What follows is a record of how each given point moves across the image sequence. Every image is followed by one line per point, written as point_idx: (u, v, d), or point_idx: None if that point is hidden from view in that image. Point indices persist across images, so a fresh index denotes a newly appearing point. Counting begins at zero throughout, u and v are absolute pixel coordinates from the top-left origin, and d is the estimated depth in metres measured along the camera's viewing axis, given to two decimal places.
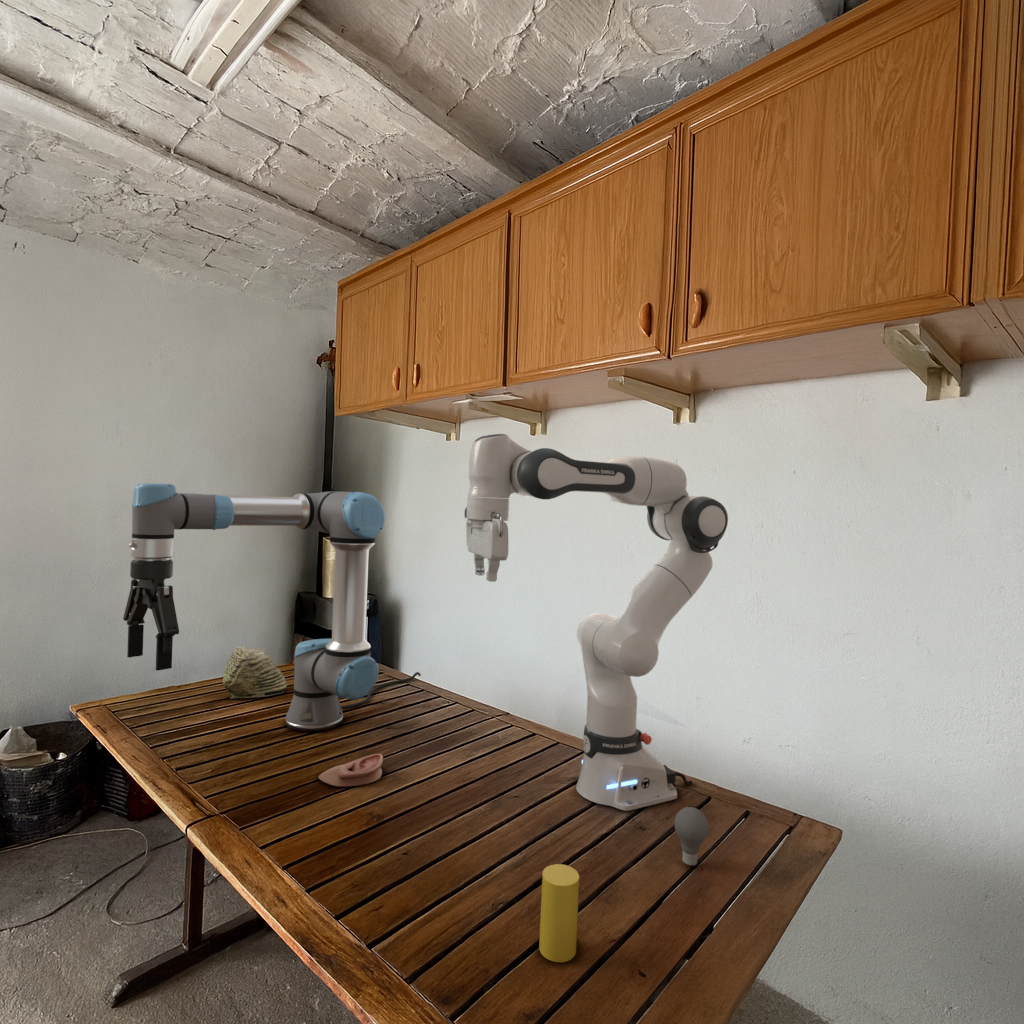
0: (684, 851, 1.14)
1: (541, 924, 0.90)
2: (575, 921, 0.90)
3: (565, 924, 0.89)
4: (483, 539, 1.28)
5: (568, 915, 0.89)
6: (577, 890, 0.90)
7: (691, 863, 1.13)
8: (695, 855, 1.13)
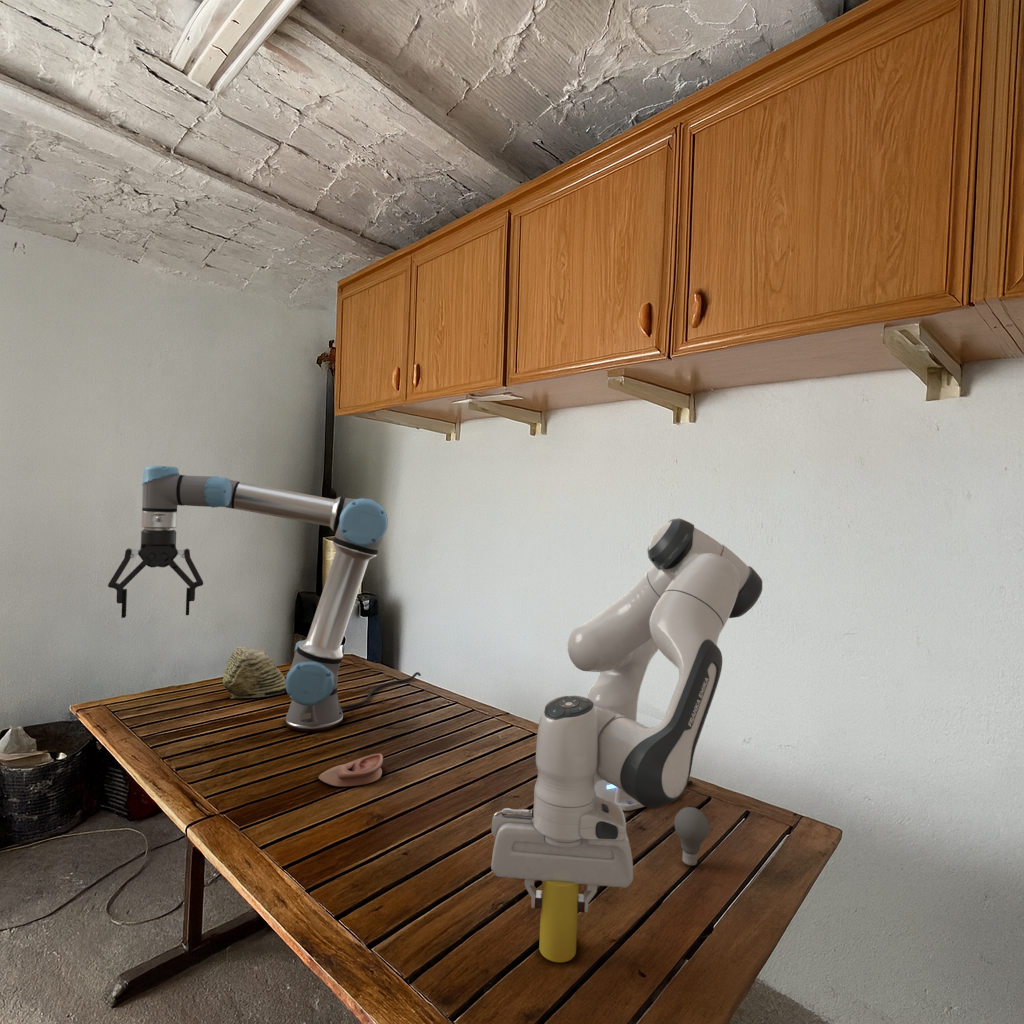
0: (684, 851, 1.14)
1: (541, 924, 0.90)
2: (575, 921, 0.90)
3: (565, 924, 0.89)
4: None
5: (568, 915, 0.89)
6: (577, 890, 0.90)
7: (691, 863, 1.13)
8: (695, 855, 1.13)
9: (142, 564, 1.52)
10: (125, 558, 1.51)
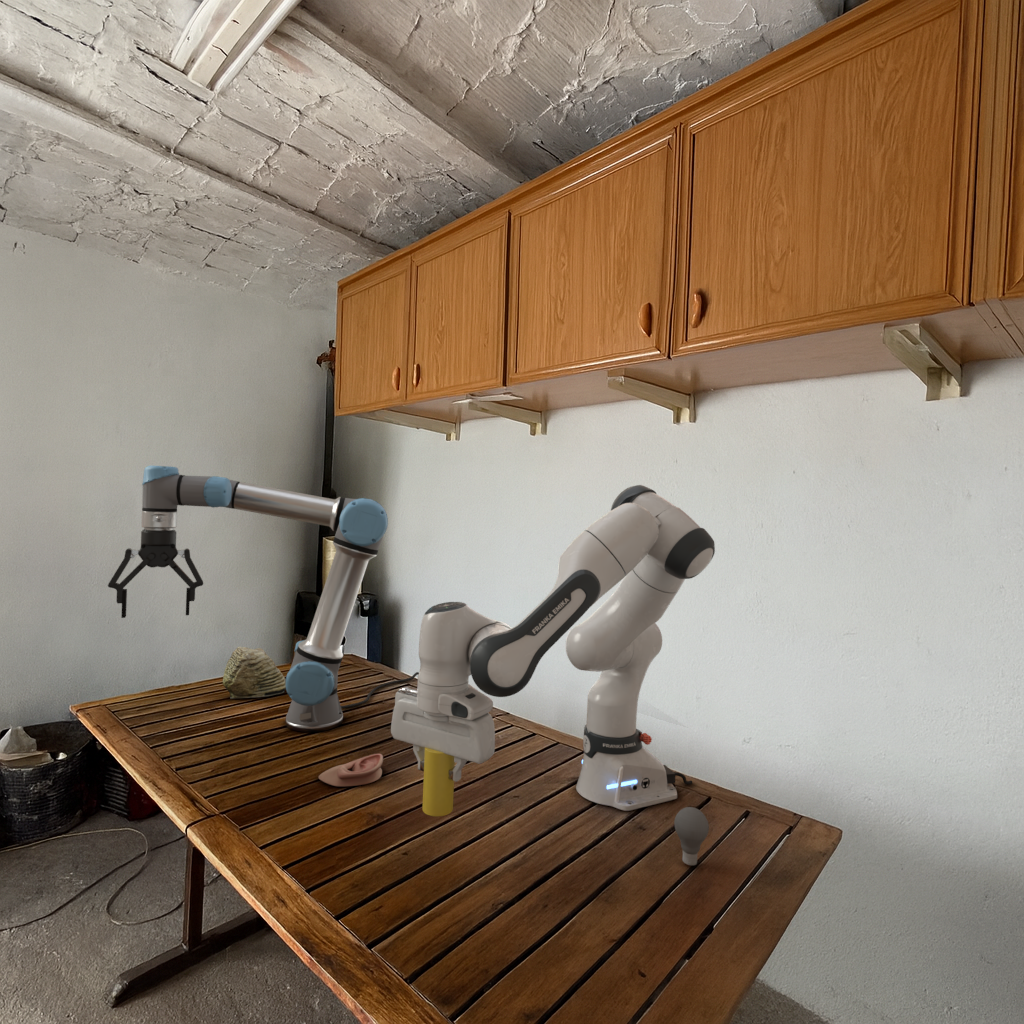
0: (684, 851, 1.14)
1: None
2: (445, 786, 1.08)
3: (434, 785, 1.08)
4: None
5: (436, 778, 1.08)
6: (447, 760, 1.08)
7: (691, 863, 1.13)
8: (695, 855, 1.13)
9: (142, 564, 1.52)
10: (125, 558, 1.51)
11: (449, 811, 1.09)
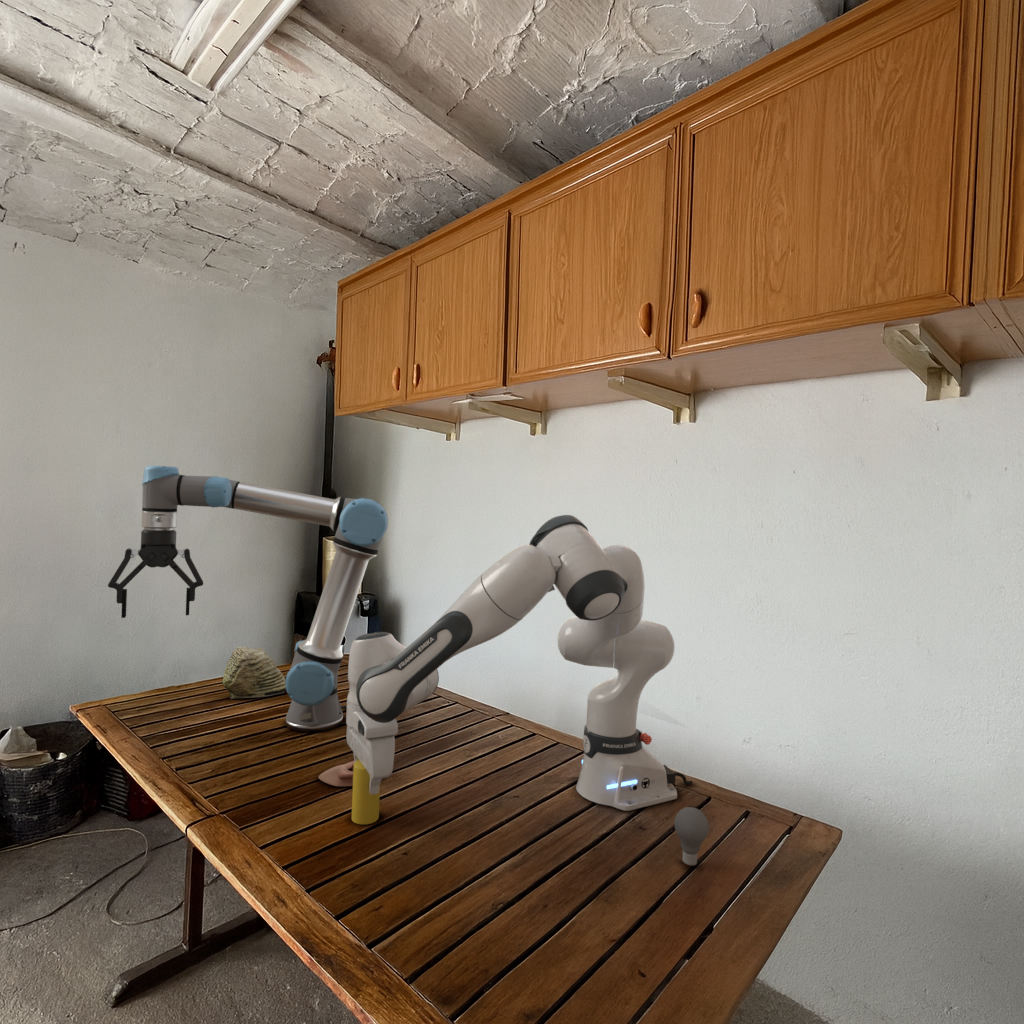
0: (684, 851, 1.14)
1: None
2: (363, 798, 1.23)
3: (355, 795, 1.24)
4: None
5: (356, 789, 1.24)
6: (365, 776, 1.23)
7: (691, 863, 1.13)
8: (695, 855, 1.13)
9: (142, 564, 1.52)
10: (125, 558, 1.51)
11: (368, 822, 1.24)
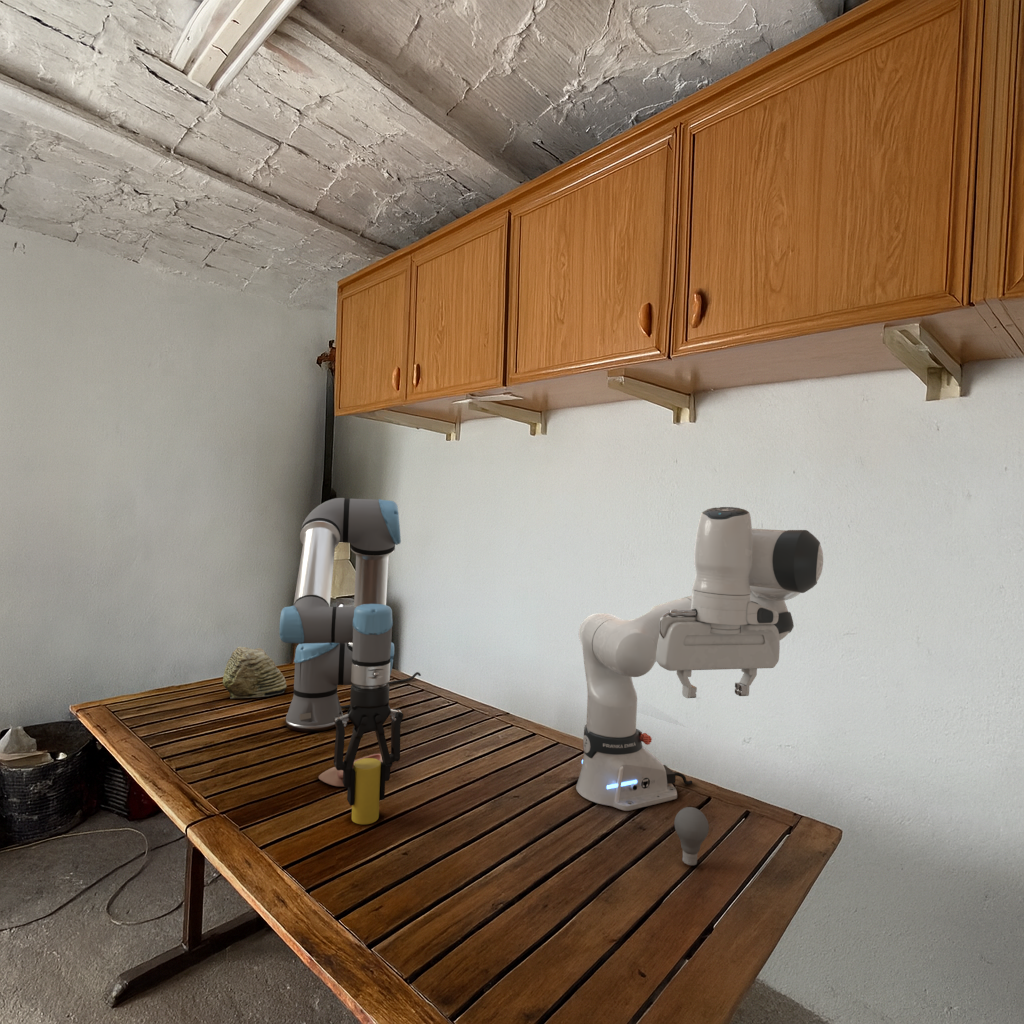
0: (684, 851, 1.14)
1: None
2: (363, 798, 1.23)
3: (355, 795, 1.24)
4: None
5: (356, 789, 1.24)
6: (365, 776, 1.23)
7: (691, 863, 1.13)
8: (695, 855, 1.13)
9: (359, 733, 1.23)
10: (340, 731, 1.22)
11: (368, 822, 1.24)
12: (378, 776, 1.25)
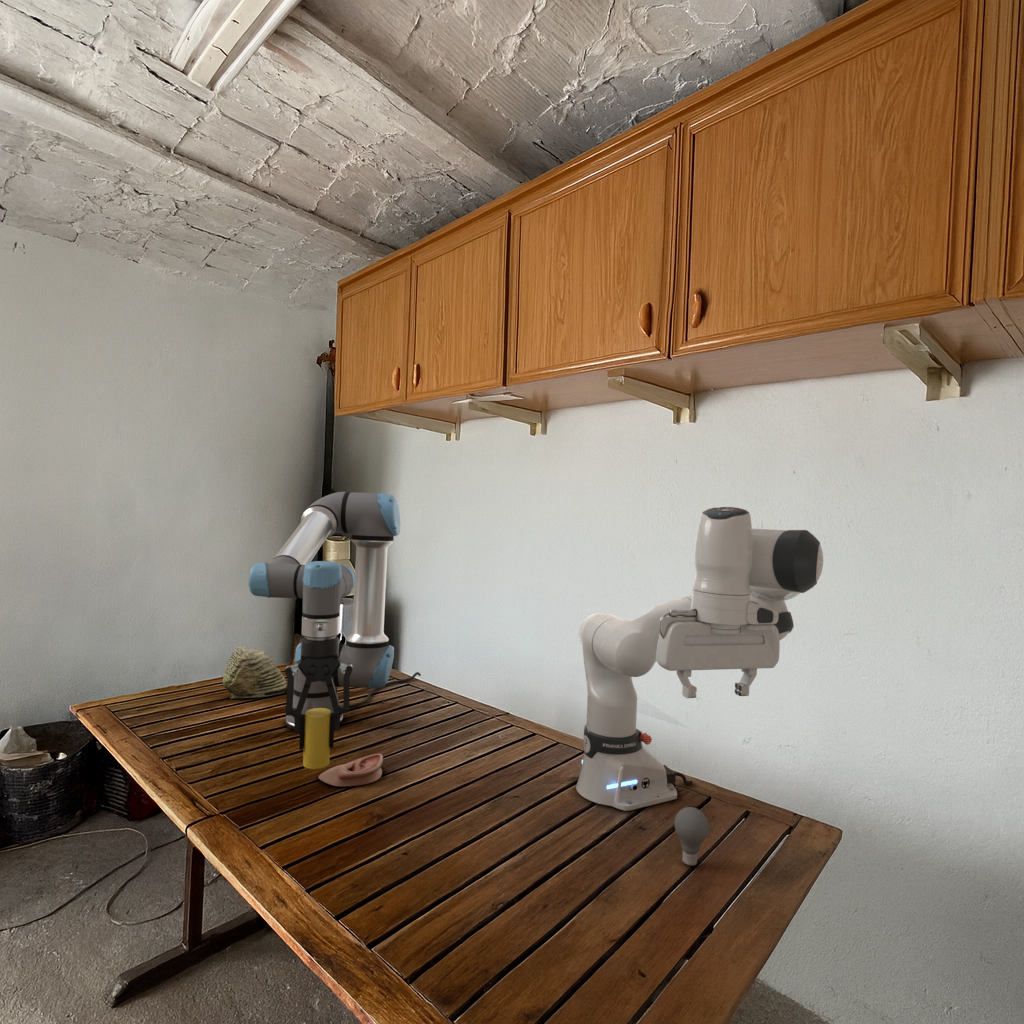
0: (684, 851, 1.14)
1: None
2: (310, 744, 1.30)
3: (304, 741, 1.31)
4: None
5: (305, 735, 1.30)
6: (312, 723, 1.30)
7: (691, 863, 1.13)
8: (695, 855, 1.13)
9: (307, 682, 1.30)
10: (288, 679, 1.29)
11: (315, 767, 1.30)
12: (326, 725, 1.31)
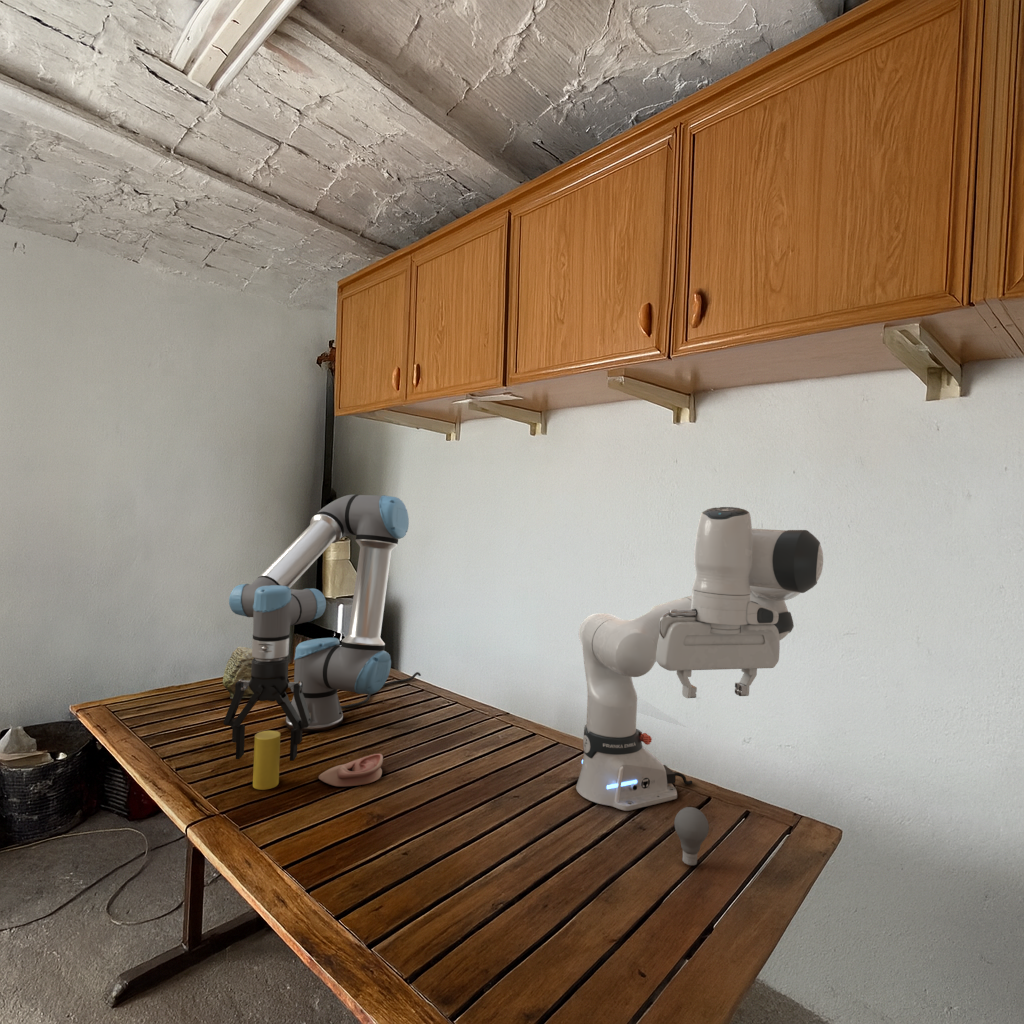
0: (684, 851, 1.14)
1: None
2: (257, 765, 1.36)
3: None
4: None
5: None
6: (258, 745, 1.36)
7: (691, 863, 1.13)
8: (695, 855, 1.13)
9: (252, 699, 1.36)
10: (236, 692, 1.37)
11: (261, 788, 1.36)
12: (272, 748, 1.36)
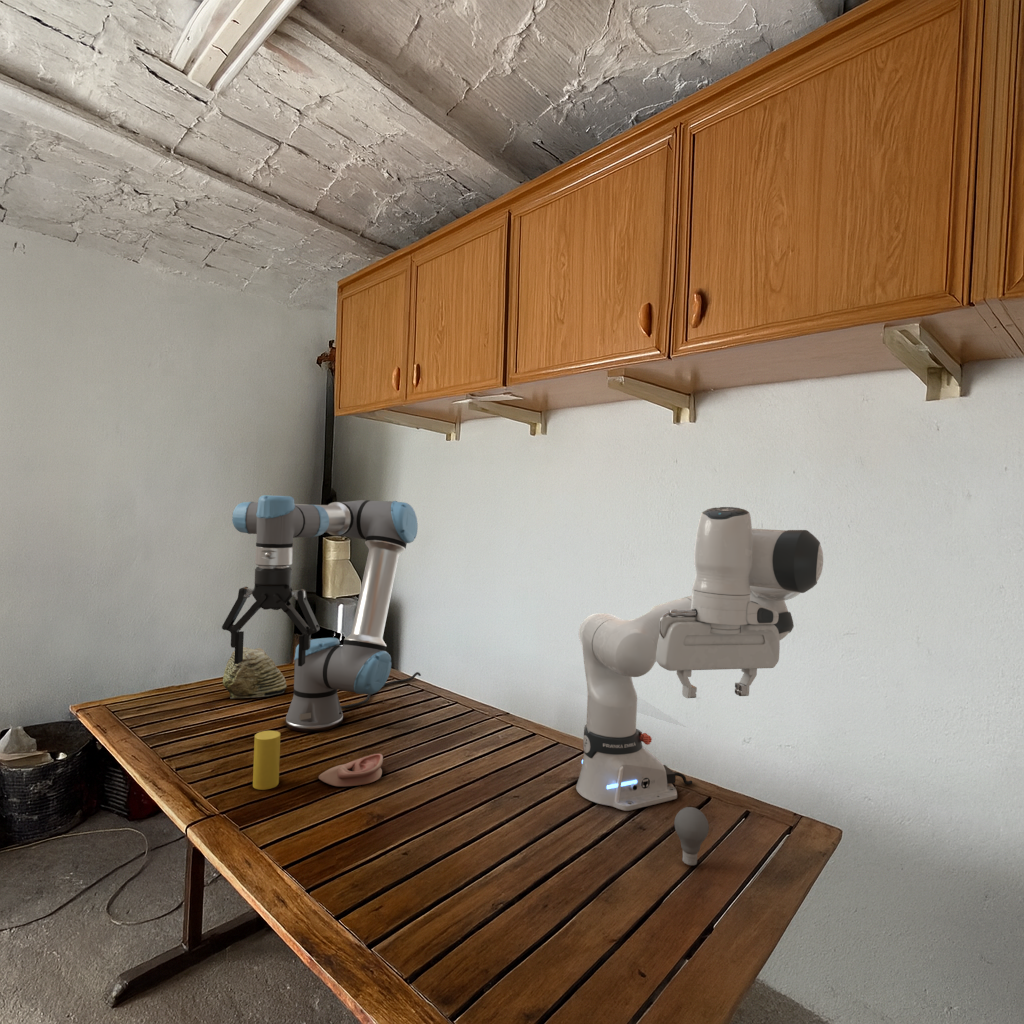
0: (684, 851, 1.14)
1: None
2: (257, 765, 1.36)
3: None
4: None
5: None
6: (258, 745, 1.36)
7: (691, 863, 1.13)
8: (695, 855, 1.13)
9: (254, 606, 1.36)
10: (238, 598, 1.36)
11: (261, 788, 1.36)
12: (272, 748, 1.36)
